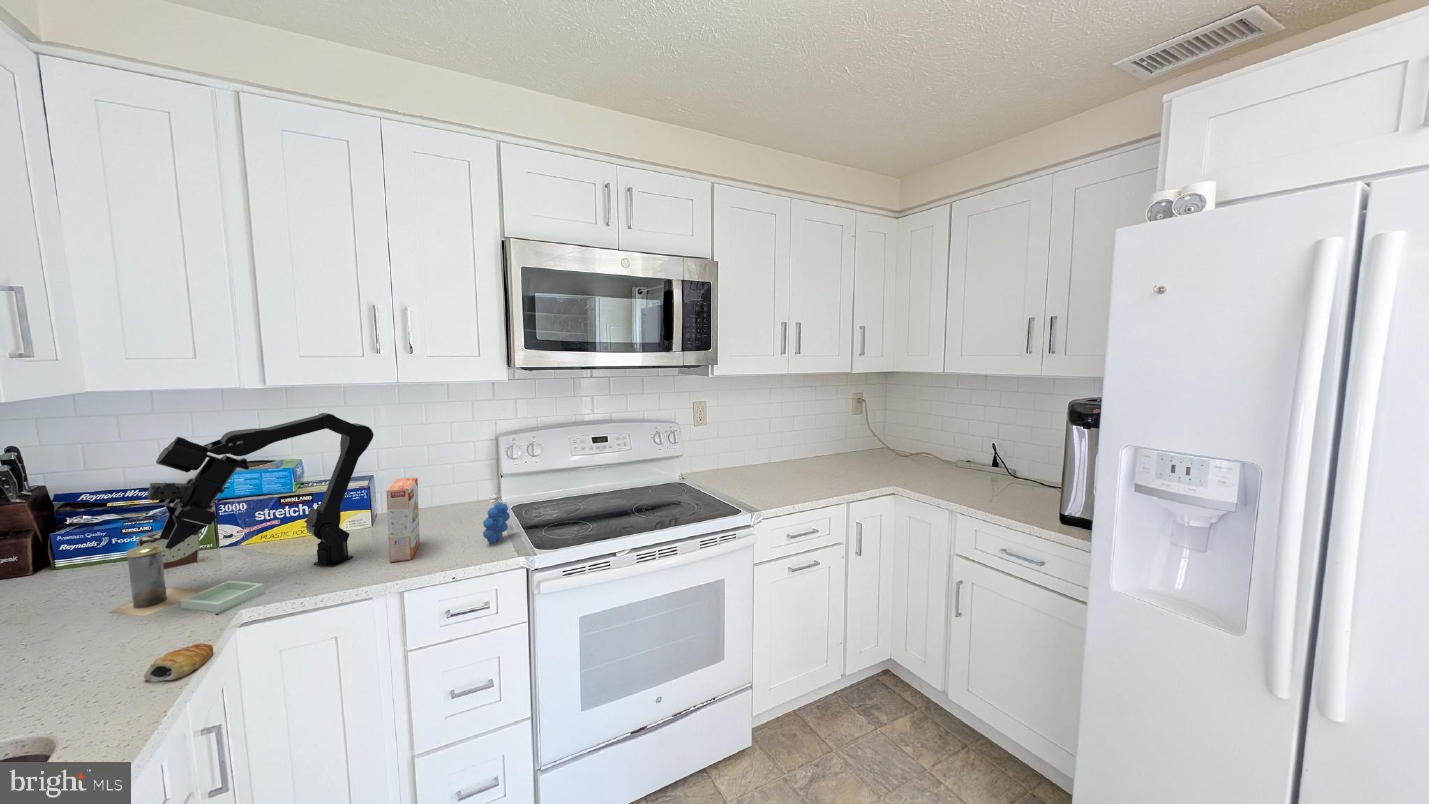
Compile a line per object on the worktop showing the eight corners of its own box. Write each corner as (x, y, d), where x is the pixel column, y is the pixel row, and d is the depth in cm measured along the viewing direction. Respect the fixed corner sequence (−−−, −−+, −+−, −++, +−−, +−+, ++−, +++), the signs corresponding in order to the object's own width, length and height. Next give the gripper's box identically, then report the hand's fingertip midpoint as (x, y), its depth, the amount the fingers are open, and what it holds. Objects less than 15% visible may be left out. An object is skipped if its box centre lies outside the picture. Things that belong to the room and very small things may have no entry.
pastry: (189, 653, 99) (187, 634, 99) (226, 651, 100) (224, 633, 100) (139, 684, 90) (137, 664, 90) (181, 683, 91) (179, 663, 90)
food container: (202, 556, 144) (199, 522, 143) (205, 562, 140) (202, 527, 139) (137, 570, 135) (133, 534, 134) (138, 577, 131) (134, 540, 130)
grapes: (496, 533, 164) (495, 497, 163) (515, 534, 163) (514, 498, 162) (472, 546, 153) (471, 508, 152) (492, 548, 152) (490, 509, 151)
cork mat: (172, 589, 124) (172, 587, 124) (206, 592, 123) (206, 590, 123) (107, 614, 113) (107, 612, 113) (144, 618, 111) (144, 616, 111)
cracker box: (413, 560, 143) (409, 488, 141) (388, 563, 141) (384, 490, 139) (421, 542, 156) (418, 476, 154) (399, 545, 154) (395, 478, 151)
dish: (229, 590, 124) (228, 580, 124) (264, 593, 123) (263, 583, 123) (181, 611, 115) (180, 600, 114) (218, 614, 113) (217, 604, 113)
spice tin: (155, 596, 120) (149, 543, 119) (174, 598, 119) (168, 544, 118) (125, 607, 115) (119, 552, 113) (145, 609, 114) (139, 554, 113)
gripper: (162, 461, 120) (113, 524, 115) (174, 473, 109) (120, 543, 104) (218, 478, 128) (175, 537, 123) (235, 491, 117) (188, 557, 112)
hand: (164, 543), depth 115 cm, fingers open, 9 cm apart
